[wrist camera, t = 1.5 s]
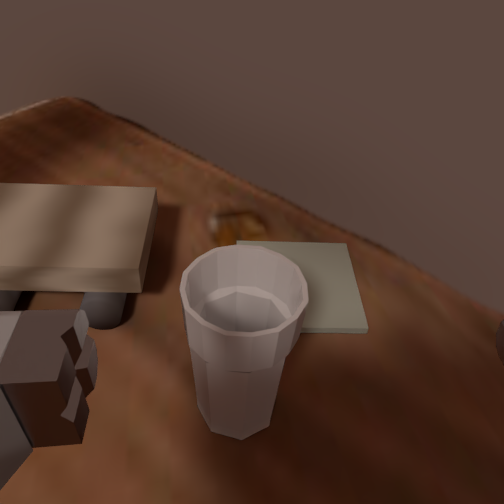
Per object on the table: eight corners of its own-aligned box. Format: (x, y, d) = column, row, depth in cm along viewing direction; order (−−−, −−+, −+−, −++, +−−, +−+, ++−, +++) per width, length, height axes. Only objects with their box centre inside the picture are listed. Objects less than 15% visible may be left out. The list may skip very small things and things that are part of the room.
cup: (230, 346, 36) (234, 229, 28) (305, 396, 33) (332, 281, 26) (165, 408, 32) (152, 291, 24) (245, 472, 29) (256, 361, 21)
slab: (-50, 327, 35) (-79, 274, 32) (8, 226, 44) (-10, 175, 41) (143, 330, 36) (136, 278, 33) (161, 229, 45) (157, 181, 42)
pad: (236, 331, 37) (237, 326, 36) (236, 245, 44) (236, 240, 44) (366, 333, 37) (368, 328, 37) (344, 248, 45) (345, 243, 44)
